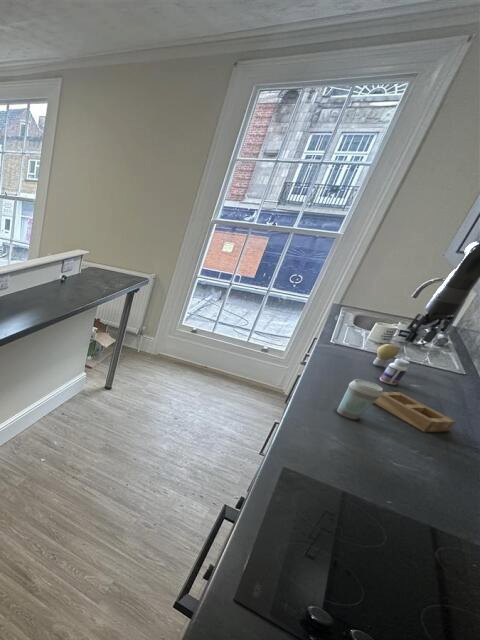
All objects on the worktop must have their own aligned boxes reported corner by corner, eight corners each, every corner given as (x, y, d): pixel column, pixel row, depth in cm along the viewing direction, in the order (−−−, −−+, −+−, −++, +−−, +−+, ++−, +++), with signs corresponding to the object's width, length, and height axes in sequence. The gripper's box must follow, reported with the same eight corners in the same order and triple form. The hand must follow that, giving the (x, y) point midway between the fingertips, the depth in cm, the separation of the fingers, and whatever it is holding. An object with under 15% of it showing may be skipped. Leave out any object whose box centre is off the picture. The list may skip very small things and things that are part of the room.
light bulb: (369, 360, 180) (383, 340, 175) (388, 366, 176) (403, 346, 171) (367, 364, 176) (381, 343, 171) (385, 370, 172) (400, 349, 167)
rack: (392, 401, 148) (399, 392, 146) (447, 431, 133) (456, 421, 131) (370, 401, 147) (377, 392, 145) (423, 431, 132) (432, 422, 130)
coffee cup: (327, 410, 139) (347, 380, 132) (339, 405, 142) (359, 376, 136) (356, 424, 132) (378, 393, 126) (368, 418, 136) (390, 389, 130)
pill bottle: (394, 381, 164) (409, 360, 158) (398, 386, 159) (414, 365, 154) (377, 376, 166) (392, 356, 161) (380, 382, 162) (396, 361, 157)
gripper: (444, 303, 136) (413, 346, 144) (476, 303, 138) (443, 345, 146) (419, 295, 142) (391, 337, 150) (450, 296, 144) (420, 337, 153)
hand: (417, 341), depth 148 cm, fingers open, 8 cm apart
